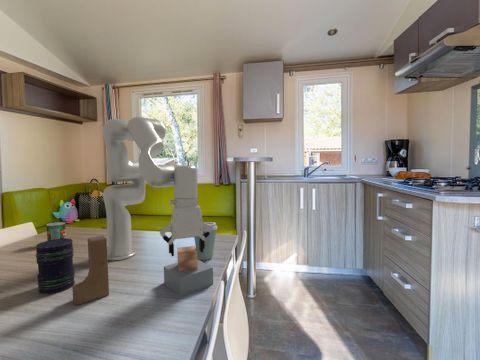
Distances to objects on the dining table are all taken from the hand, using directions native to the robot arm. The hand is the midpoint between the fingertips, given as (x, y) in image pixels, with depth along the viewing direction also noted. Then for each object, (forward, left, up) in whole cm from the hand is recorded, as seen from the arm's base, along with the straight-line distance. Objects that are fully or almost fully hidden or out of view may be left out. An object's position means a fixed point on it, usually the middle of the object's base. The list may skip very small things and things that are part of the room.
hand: (187, 253), depth 84 cm
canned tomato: (-56, +68, -11) cm, 88 cm away
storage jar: (-41, +14, -11) cm, 44 cm away
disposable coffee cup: (+11, +21, -11) cm, 26 cm away
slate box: (0, 0, -11) cm, 11 cm away
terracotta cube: (0, 0, -5) cm, 5 cm away
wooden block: (-29, +2, -11) cm, 31 cm away
